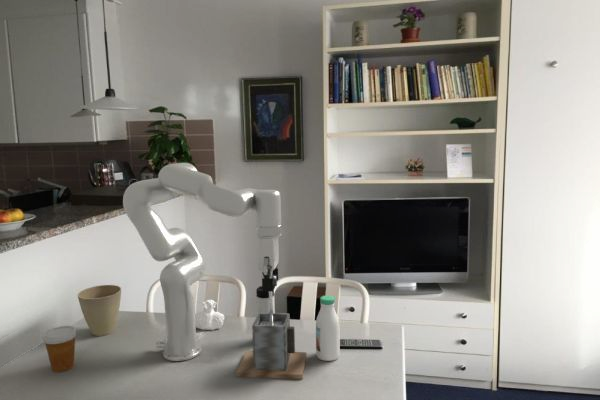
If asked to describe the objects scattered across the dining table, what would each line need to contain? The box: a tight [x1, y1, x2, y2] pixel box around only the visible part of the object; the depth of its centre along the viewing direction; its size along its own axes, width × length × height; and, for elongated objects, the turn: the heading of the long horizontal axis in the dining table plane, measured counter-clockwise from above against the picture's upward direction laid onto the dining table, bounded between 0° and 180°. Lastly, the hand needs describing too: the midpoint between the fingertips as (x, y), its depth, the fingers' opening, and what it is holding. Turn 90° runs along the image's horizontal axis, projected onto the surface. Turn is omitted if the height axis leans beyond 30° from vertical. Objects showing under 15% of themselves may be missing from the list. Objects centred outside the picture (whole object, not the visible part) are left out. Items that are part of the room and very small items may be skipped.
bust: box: [195, 299, 225, 331], centre depth 174 cm, size 12×8×11 cm
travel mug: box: [255, 285, 276, 316], centre depth 160 cm, size 6×7×20 cm
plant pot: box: [77, 284, 122, 337], centre depth 170 cm, size 15×15×16 cm
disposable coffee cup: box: [42, 325, 78, 373], centre depth 144 cm, size 10×10×12 cm
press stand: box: [235, 312, 307, 380], centre depth 142 cm, size 20×14×16 cm
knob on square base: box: [259, 274, 285, 326], centre depth 140 cm, size 8×8×17 cm
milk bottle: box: [315, 295, 341, 362], centre depth 148 cm, size 8×8×20 cm
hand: (270, 285), depth 139 cm, fingers open, 9 cm apart
